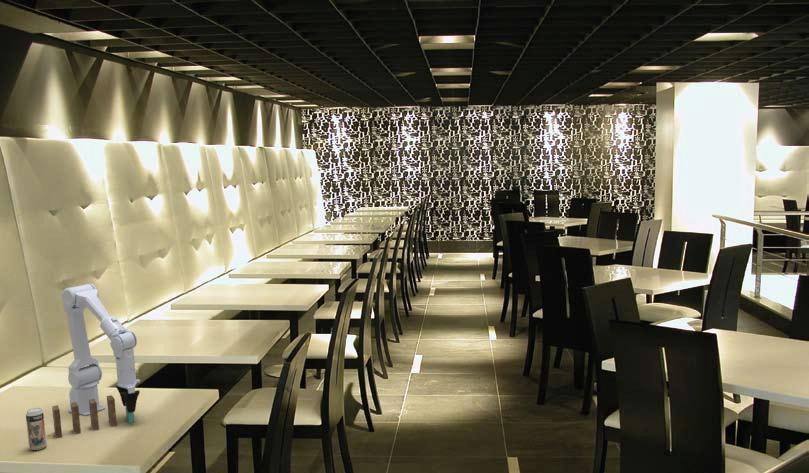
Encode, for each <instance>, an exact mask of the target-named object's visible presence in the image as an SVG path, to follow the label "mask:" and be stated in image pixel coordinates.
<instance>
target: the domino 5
mask: <svg viewBox="0 0 809 473" xmlns="http://www.w3.org/2000/svg"><path fill="white" fill-rule="evenodd" d="M124 407H125V415H126V417H125V418H126V420H127V422H128V423H129V424H133V423H135V412H131V413H128V411H127V407H126V403H125V406H124Z"/></svg>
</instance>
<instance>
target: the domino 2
mask: <svg viewBox="0 0 809 473" xmlns="http://www.w3.org/2000/svg"><path fill="white" fill-rule="evenodd" d="M70 410H71V411H72V412H71V421H72V429H73V432H74V435H79V434H81V422H80V420H81V419H80V414H79V408H78V405H77V403H76V402H72V403H71V407H70Z"/></svg>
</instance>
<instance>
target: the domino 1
mask: <svg viewBox="0 0 809 473" xmlns="http://www.w3.org/2000/svg"><path fill="white" fill-rule="evenodd" d="M51 408H52V419H53V428H54V435H55V437H56V438H55V439H60V438H63V433H62V431H63V430H62V420H61V410H60V408H59V405H57V404H55V405H52V406H51Z"/></svg>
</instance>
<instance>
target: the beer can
mask: <svg viewBox="0 0 809 473" xmlns="http://www.w3.org/2000/svg"><path fill="white" fill-rule="evenodd" d="M25 420H26V429H27V439H28V448H29V450H30V451H33V450H34V452H35V450H37V451H41V450H43V449H45V448H46V447H47V445H48V444H47V436H46V427H45V426H46V424H45V416H44V410H42V408H40V407H35V408H30V409H28V410H27V411H26V413H25Z"/></svg>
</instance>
